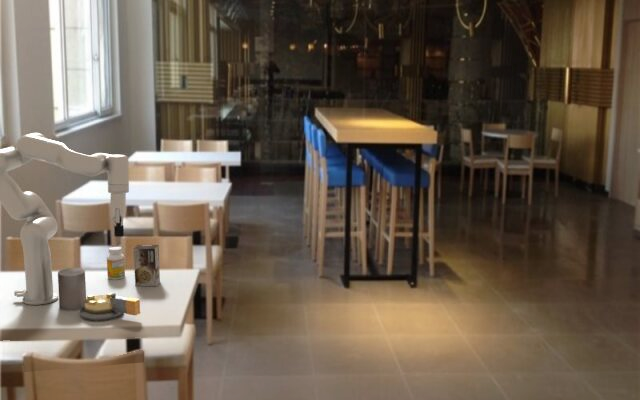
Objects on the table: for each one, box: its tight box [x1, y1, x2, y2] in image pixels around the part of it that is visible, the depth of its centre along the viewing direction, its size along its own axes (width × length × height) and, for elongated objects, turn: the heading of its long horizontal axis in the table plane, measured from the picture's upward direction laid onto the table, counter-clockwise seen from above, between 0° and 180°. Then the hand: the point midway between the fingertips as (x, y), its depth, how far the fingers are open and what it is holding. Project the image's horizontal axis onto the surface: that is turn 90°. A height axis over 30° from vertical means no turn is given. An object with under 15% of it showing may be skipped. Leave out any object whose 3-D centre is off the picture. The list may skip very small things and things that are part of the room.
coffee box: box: [132, 244, 161, 287], centre depth 293 cm, size 9×6×16 cm
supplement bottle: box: [106, 246, 126, 281], centre depth 302 cm, size 7×7×13 cm
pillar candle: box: [57, 267, 87, 312], centre depth 265 cm, size 10×10×15 cm
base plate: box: [79, 307, 124, 323], centre depth 258 cm, size 15×15×2 cm
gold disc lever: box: [84, 292, 141, 316], centre depth 255 cm, size 22×12×6 cm, turn 67°
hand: (119, 235), depth 268 cm, fingers closed
